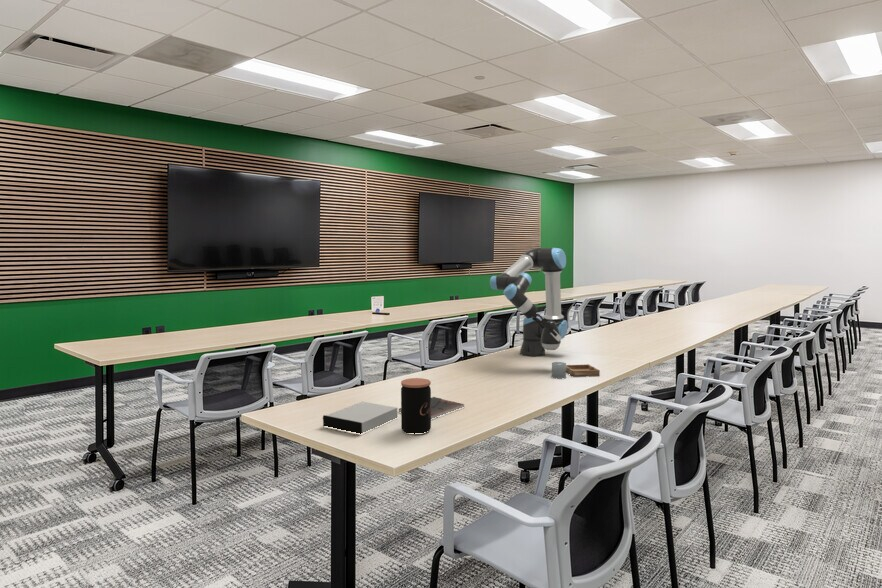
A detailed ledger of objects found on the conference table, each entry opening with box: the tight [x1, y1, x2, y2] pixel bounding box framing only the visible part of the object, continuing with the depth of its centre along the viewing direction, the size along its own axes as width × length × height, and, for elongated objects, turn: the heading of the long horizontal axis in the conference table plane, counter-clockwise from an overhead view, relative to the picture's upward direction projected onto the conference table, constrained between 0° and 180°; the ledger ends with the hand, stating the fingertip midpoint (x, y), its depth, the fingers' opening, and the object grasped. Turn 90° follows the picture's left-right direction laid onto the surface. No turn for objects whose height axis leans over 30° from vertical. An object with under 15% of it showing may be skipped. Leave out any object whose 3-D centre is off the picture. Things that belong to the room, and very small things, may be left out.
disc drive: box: [322, 401, 399, 434], centre depth 209 cm, size 18×22×5 cm
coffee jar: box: [400, 377, 432, 434], centre depth 199 cm, size 11×11×18 cm
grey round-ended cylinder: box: [551, 361, 567, 380], centre depth 280 cm, size 7×7×7 cm
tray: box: [566, 363, 601, 378], centre depth 288 cm, size 14×14×3 cm
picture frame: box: [398, 396, 465, 419], centre depth 224 cm, size 16×2×22 cm
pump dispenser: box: [541, 321, 562, 351], centre depth 291 cm, size 10×10×15 cm
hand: (556, 337), depth 292 cm, fingers closed on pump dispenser, 10 cm apart
